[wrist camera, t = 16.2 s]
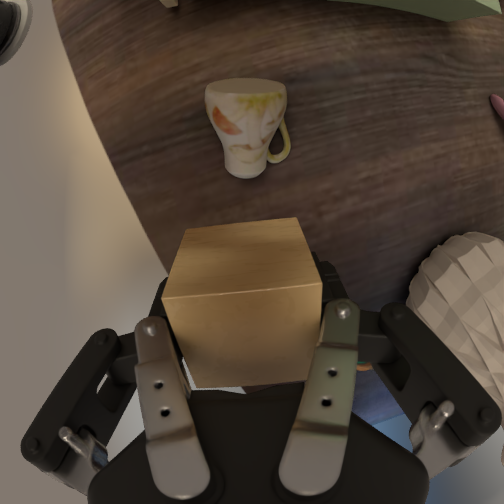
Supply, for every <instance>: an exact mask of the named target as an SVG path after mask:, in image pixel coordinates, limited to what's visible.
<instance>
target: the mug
mask: <svg viewBox="0 0 504 504" xmlns="http://www.w3.org/2000/svg"><path fill="white" fill-rule="evenodd" d="M286 106H287V91H286V88H285V85H283V84H282V83H280V82H276V81H272V80H266V79H257V78H231V79H224V80H219V81H216V82H212V83H210V84H208V86H207V87H206V90H205V107H206V111H207V114H208V117H209V119H210V121H211V123H212V125H213V127H214V129H215V131H216V133H217V135H218V136H219V138H220V140H221V142H222V145H223V149H224V154H225V167H226V169H227V170H228V172H230V173H231V174H232V175H234V176H236V177H239V178H244V179H245V178H253V177H256V176H258V175H259V174H260V173H261V172H263V171H264V169H265V168H266V162H267V160H268V161H269V162H271V163H279V162H280V161H282V160H283V159H285V158H286V157H287V156H288V154H289V151H290V148H291V143H290V137H289V134H288V131H287V128H286V125H285V121H284V117H283V116H284V113H285V110H286ZM278 127H279V129H280V132H281V134H282V137H283V141H284V147H283V150H282V152H281V153H279V154H277V155H272V154H271V153H270V151H269V148H268V147H269V144H270V142H271V140H272V138H273V136H274V134H275V132H276V130H277V128H278Z"/></svg>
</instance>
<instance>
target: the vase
mask: <svg viewBox="0 0 504 504" xmlns="http://www.w3.org/2000/svg"><path fill="white" fill-rule="evenodd" d="M418 268H419V272H418V273H417V274H416V275H415V276H414V278H413V279H412V281H411V282H410V286H409V291H410V294H409V296H408V298H407V300H406V306H408V307H409V308H410V309H411V310H412V311H413V312H414V313H415V314H416V315H417V316H418V317H419V318H420V319H421V320H422V321H423V322H424V323H425V324H426V325H427V326H428V327H429V328H430V329H431V330H432V331H433V332H434V333H435V334H436V336H437V337H438V338H439V339H440V340H441V341H442V342H443V343H444V344H445V345H446V346H447V347H448V348H449V349H450V350H451V352H452V353H453V354H454V355H455V356H456V357H457V358H458V359H459V360H460V361H461V363H462V364H463V365H464V366H465V367H466V368H467V369H468V370H469V372H470V373H471V374H472V375H473V376H474V377H475V378H476V380H477V381H478V382H479V383H480V384H481V385H482V387H483V388H484V389H485V390H486V391H487V393H488V394H489V395H490V396H491V397H492V399H493V400H494V401H495V402H496V403H497V405H498V406H499V408H500V410H501V413H502V422H501V426H502V427H503V430H504V242H503V241H501V240H500V239H498V238H495V237H492V236H490V235H487V234H483V233H479V232H468V233H466V234H464V235H462V236H460V235H455V236H451V237H450V238H449V239H448V240H447V241H446V242H445V243H444V244H443V245H442V246H441V245H438V246H437V247H436V248H435V249H433V251H432V252H431V254H430V257H428V258H426V259H425V260H424V261H422V263H421V265H420V266H419V267H418ZM501 462H502V465H503V466H504V446H503V450H502V456H501Z"/></svg>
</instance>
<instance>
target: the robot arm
mask: <svg viewBox="0 0 504 504" xmlns="http://www.w3.org/2000/svg"><path fill="white" fill-rule="evenodd" d="M20 20H21V9H20V6H19V5H18V4H17V3H14V2H6V1H3V0H0V56H1V55H2V54H3V53H4V52H5V51H6V50H7V48H8V47H9V46H10V44H11V43H12V41H13V39H14V37H15V35H16V33H17V31H18V28H19V25H20ZM311 255H312V257H313V260H314V262H315V265H316V267H317V270H318V273H319V275H320V278H321V280H322V283H323V285H322V305H321V321H320V334H319V339H318V342H316V344H315V348H314V353H313V357H312V361H311V365H310V369H309V373H308V376H307V380H306V384H305V386H304V382H301V383H293V384H285V385H276V386H273V387H270V388H266V389H263V390H260V391H256V392H253V393H250V394H241V393H234V392H228V391H222V390H191V387H190V383H189V381H188V377H187V374H186V371H185V368H184V365H183V362H182V359H183V355H182V352H181V350H180V347H179V345H178V342H177V340H176V337H175V335H174V332H173V329H172V327H171V324H170V322H169V319H168V316H167V313H166V311H165V308H164V305H163V302H162V299H161V297H162V294H163V292H164V289H165V286H166V283H167V280H168V277H166V278H165V279H164V280H163V281H162V282H161V283H160V285H159V288H158V290H157V293H156V296H155V299H154V301H153V304H152V307H151V310H150V313H149V316H148V317H147V318H144V319H143V320H141V321H140V322H139V323H138V324H137V325H136V327H135V330H134V332H132V333H128V334H125V335H121V336H117V334H116V332H115V331H114V330H112V329H108V328H106V329H101V330H99V331H97V332H95V333H94V334H93V335H92V336H91V337H90V338H89V340H88V341H87V342H86V344H85V345H84V346H83V348H82V349H81V351H80V352H79V353H78V355H77V356H76V358H75V359H74V360H73V362H72V363H71V365H70V366H69V367H68V369H67V370H66V372H65V373H64V375H63V376H62V378H61V379H60V380H59V382H58V383H57V385H56V386H55V388H54V389H53V391H52V392H51V394H50V395H49V397H48V398H47V400H46V402H45V403H44V404H43V406H42V408H41V409H40V411H39V412H38V414H37V416H36V417H35V419H34V421H33V422H32V424H31V426H30V427H29V429H28V430H27V432H26V434H25V435H24V437H23V439H22V441H21V453H22V455H23V457H24V458H25V459H26V460H27V461H29V462H31V463H32V464H33V465H35V466H36V467H38V468H39V469H40V470H41V471H42V472H44V473H45V474H47V475H48V476H50V477H52V478H53V479H55V480H57V481H59V482H61V483H64V484H65V485H67V486H69V487H71V488H73V489H76V490H77V491H79V492H81V493H82V494H84V495H86V496H87V499H88V504H425V502H426V498H427V495H428V491H429V480H430V479H432V478H433V477H435V476H436V475H437V474H439V473H440V472H441V471H443V470H444V469H446V468H447V467H452V466H455V465H456V464H458V463H459V462H461V461H462V460H463V459H464V458H466V457H467V456H468V455H469V454H471V453H472V452H473V451H474V450H475V449H477V448H478V447H479V446H480V445H481V444H482V443H484V442H485V441H486V440H487V439H488V438H489V437H490V436H491V435H492V434H493V433H495V432H496V431H497V429H498V428H499V427H500V425H501V422H502V413H501V410H500V408H499V406H498V405H497V403H496V402H495V401H494V400H493V399H492V397H491V396H490V395H489V394H488V393H487V391H486V390H485V389H484V388H483V387H482V385H481V384H480V383H479V382H478V381H477V380H476V378H475V377H474V376H473V375H472V374H471V373H470V372H469V370H468V369H467V368H466V367H465V366H464V365H463V364H462V363H461V361H460V360H459V359H458V358H457V357H456V356H455V355H454V354H453V353H452V352H451V350H450V349H449V348H448V347H447V346H446V345H445V344H444V343H443V342H442V341H441V340H440V339H439V338H438V337H437V336H436V334H435V333H434V332H433V331H432V330H431V329H430V328H429V327H428V326H427V325H426V324H425V323H424V322H423V321H422V320H421V319H420V318H419V317H418V316H417V315H416V314H415V313H414V312H413V311H412V310H411V309H410V308H409V307H408V306H406V305H404V304H401V303H388V304H386V305H384V306H383V307H382V309H381V311H380V312H370V311H364V310H361V309H360V308H359V306H358V304H357V303H355V302H354V301H352V300H349V298H348V295H347V293H346V291H345V289H344V287H343V284H342V282H341V281H340V278H339V276H338V274H337V272H336V269H335V267H334V266H333V265H331V264H330V263H329V262H328V261H324V262H319V260H318V257H317V255H316V253H315V252H311ZM358 361H360V362H370V364H371V366H372V367H373V369H374V370H375V371H376V373H377V374H378V376H379V377H380V378H381V380H382V381H383V383H384V384H385V386H386V387H387V388H388V390H389V391H390V393H391V394H392V395H393V397H394V398H395V400H396V401H397V403H398V404H399V406H400V407H401V408H402V410H403V411H404V413H405V414H406V416H407V417H408V419H409V420H410V421H411V423H412V425H411V427H410V430H409V439H410V441H411V443H412V446H413V453H411V452H410V451H408V450H407V449H405V448H404V447H402V446H401V445H399V444H398V443H396V442H395V441H393V440H392V439H390V438H389V437H387V436H386V435H384V434H383V433H381V432H380V431H378V430H377V429H375V428H374V427H372V426H371V425H370V424H368V423H367V422H366V421H364V420H363V419H361V418H360V417H359V416H357V415H356V414H354V413H353V412H352V411H351V408H352V402H353V395H354V387H355V379H356V371H357V362H358ZM105 374H107V376H108V377H107V378H106V380H105V382H104V383H103V385H102V387H101V388H100V390H99V392H98V393H97V387H98V385H99V383H100V382H101V380H102V379H103V377H104V375H105ZM136 388H137V389H138V395H139V401H140V407H141V412H142V418H143V423H144V428H145V430H144V431H143V432H142V433H141V434H140V435H138V436H137V437H136V438H135V439H134V440H133V441H132V442H131V443H130V444H129V445H128V446H127V447H125V448H124V449H123V450H122V451H121V452H120V453H119V454H118V455H117V456H116V457H114V458H113V459H112V460H111V461H110V462H108V459H107V458H108V453H107V449H106V446H107V444H108V442H109V440H110V438H111V436H112V434H113V432H114V431H115V429H116V427H117V425H118V423H119V421H120V419H121V417H122V415H123V413H124V411H125V409H126V407H127V405H128V403H129V402H130V400H131V398H132V396H133V394H134V392H135V390H136Z"/></svg>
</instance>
